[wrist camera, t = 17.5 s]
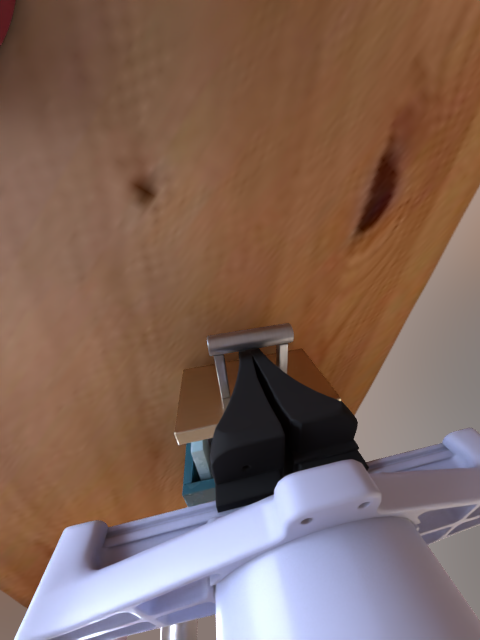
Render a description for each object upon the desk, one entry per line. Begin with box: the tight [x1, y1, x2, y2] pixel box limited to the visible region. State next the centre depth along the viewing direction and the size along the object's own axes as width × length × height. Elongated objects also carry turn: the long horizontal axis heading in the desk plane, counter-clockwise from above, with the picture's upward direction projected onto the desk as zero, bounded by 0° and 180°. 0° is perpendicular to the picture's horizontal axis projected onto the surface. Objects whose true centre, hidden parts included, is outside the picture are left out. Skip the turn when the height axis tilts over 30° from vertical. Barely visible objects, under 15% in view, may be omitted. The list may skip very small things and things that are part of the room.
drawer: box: [174, 323, 341, 481], centre depth 15 cm, size 15×10×6 cm
